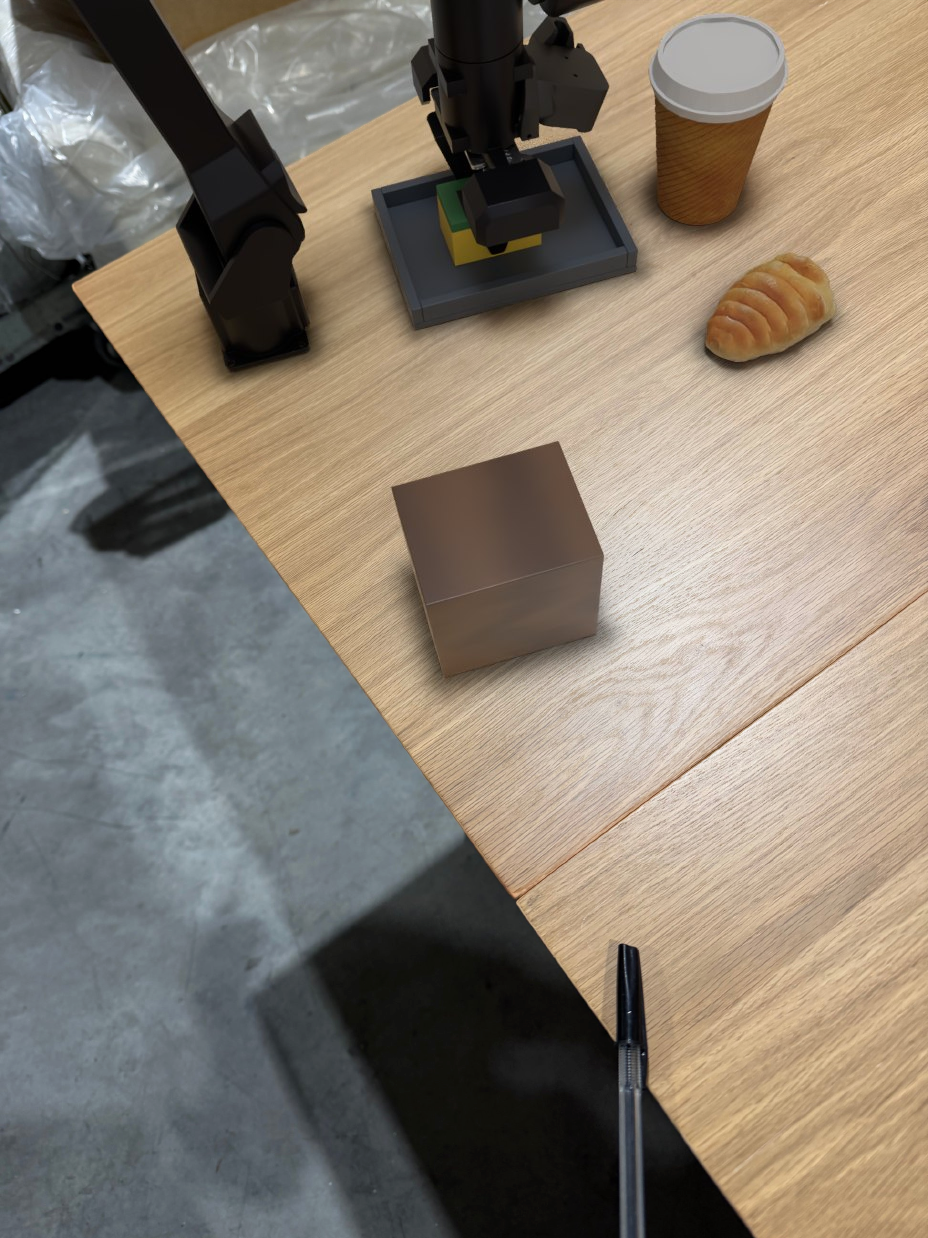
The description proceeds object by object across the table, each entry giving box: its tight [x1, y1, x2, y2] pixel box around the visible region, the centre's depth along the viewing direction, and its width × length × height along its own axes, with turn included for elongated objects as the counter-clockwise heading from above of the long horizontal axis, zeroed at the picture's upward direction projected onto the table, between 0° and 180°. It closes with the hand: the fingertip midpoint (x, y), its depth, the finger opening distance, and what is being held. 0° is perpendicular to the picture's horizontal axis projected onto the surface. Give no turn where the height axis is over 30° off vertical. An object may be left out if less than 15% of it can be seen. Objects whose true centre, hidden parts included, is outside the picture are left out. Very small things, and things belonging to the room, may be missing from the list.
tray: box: [370, 135, 639, 331], centre depth 75 cm, size 18×14×2 cm
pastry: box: [705, 252, 837, 363], centre depth 69 cm, size 9×7×4 cm
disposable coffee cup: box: [648, 12, 789, 226], centre depth 71 cm, size 10×10×12 cm
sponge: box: [436, 177, 541, 266], centre depth 74 cm, size 7×4×4 cm, turn 105°
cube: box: [390, 440, 605, 678], centre depth 58 cm, size 10×8×10 cm
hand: (489, 231), depth 75 cm, fingers closed on sponge, 4 cm apart
